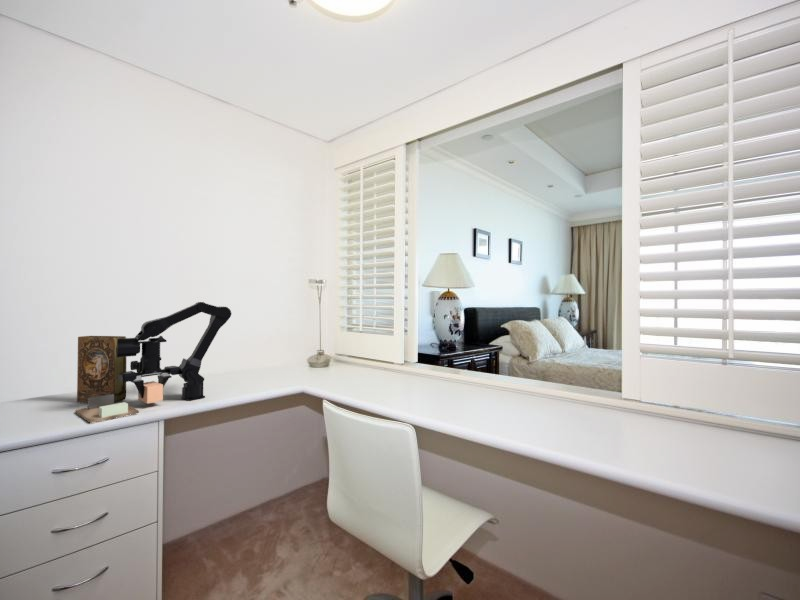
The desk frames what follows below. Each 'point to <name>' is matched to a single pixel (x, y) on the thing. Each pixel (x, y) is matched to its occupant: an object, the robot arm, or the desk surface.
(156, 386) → the peach rectangular block
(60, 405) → the desk surface
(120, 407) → the pale green rectangular block
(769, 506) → the desk surface
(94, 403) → the bookend
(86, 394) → the book
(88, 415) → the shelf board
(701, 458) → the desk surface
